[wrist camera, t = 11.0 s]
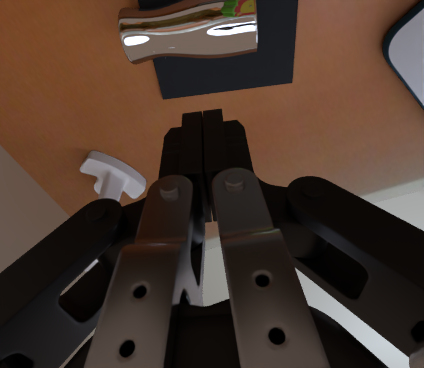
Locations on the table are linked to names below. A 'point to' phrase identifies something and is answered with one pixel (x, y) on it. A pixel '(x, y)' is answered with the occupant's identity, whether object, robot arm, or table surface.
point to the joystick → (112, 178)
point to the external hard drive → (408, 51)
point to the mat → (240, 65)
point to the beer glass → (189, 30)
